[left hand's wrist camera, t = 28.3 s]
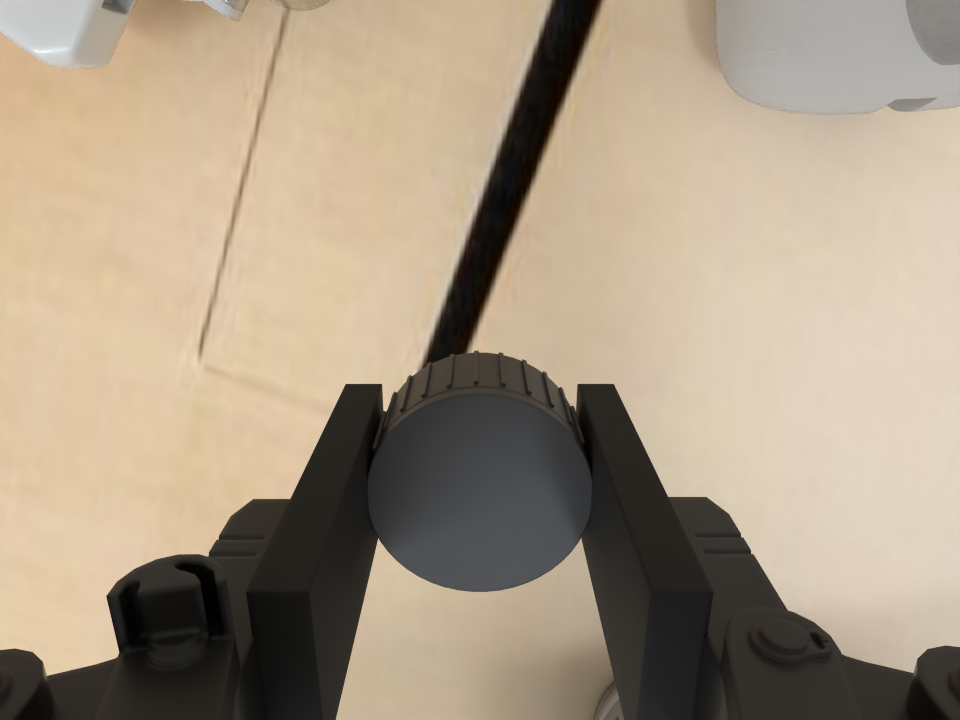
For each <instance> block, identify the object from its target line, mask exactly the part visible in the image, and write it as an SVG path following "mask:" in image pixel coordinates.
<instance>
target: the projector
mask: <svg viewBox="0 0 960 720" xmlns="http://www.w3.org/2000/svg"><path fill="white" fill-rule="evenodd" d="M716 43H717V52H718V59H719V63H720V67H721V71H722V73H723V76H724V78H725V80H726V82H727V83H728V84H729V86H730V87H731V88H732V90H734V91H735V92H736V93H737V94H738V95H739V96H741V97H743V98H744V99H746V100H748V101H749V102H752V103H755V104H757V105H760V106H763V107H767V108H771V109H775V110H780V111H786V112H793V113H803V114H867V113H871V112H875V111H877V110H879V109H881V108H883V107H885V106H887V105H888V106H889V107H890V108H892V109H893V110H896V111H900V112H910V111H924V110H935V109H946V108H953V107H960V0H716Z"/></svg>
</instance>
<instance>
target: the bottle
mask: <svg viewBox="0 0 960 720" xmlns="http://www.w3.org/2000/svg"><path fill="white" fill-rule="evenodd" d="M271 1H273V2H275V3H277V4H279V5H281V6H283V7H286V8H289V9H293V10H309V9H313V8H316V7H319V6H321V5H323V4H324V3H326V2H327V1H329V0H271Z"/></svg>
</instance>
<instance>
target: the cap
mask: <svg viewBox="0 0 960 720" xmlns="http://www.w3.org/2000/svg"><path fill="white" fill-rule="evenodd" d="M585 445H586V443H585V440H584V437H583V433H582V430H581V427H580V424H579V421H578V418H577V414H576V411H575V408H574V406H570V404H569V403H568V401H567V399H566V397H565V394H564V391H563V389H562V387H560V388H558V387H557V385H556V384H554V383H553V382H552V381H551V380H550V379H549V378H548V376H547V373H546V372H544V371H543V373H542V372H540V371H539V370H538V369H536V368H534V367H532V366H531V365H529V364H527V362H526V360H522V361H520V360H517V359H515V358H512V357H508V356H504V355H503V353H499V354H492V353H479V351H474V353H468V354H460V355H456V356H454V354H451V355H450V357H447V358H445V359H442V360H439V361H437V362H434V363H431V362H430V363H428V364H427V367H425V368H423V369H422V370H420V371H419V372H418V373H416V374H415V375H413V376H411V375H410V376H409V377H408V378H407V382H406V383H405V384H404V385H403V386H402V387H401V388H400V390H399V391H398V392H397V393H396V392H394V393H393V395H392V398H391V402H390V405H389V407H388V410H387V412H385V411H383V414H382V417H381V420H380V424H379V427H378V430H377V433H376V436H375V440H374V443H373V446H372V449H371V451H373V452H374V453H373V457H372V460H371V463H370V467H369V471H368V475H367V488H368V503H369V517H370V520H371V523H372V526H373V529H374V531H375V532H376V534H377V536H378V538H379V540H380V541H381V543H382V544H383V545H384V547H385V548H386V550H387V551H388V552H389V553H390V554H391V555H392V556H393V557H394V558H395V559H396V560H397V561H398V562H399V563H400V564H401V565H403V566H404V567H405V568H406V569H408V570H409V571H411V572H412V573H414V574H416V575H417V576H419V577H421V578H423V579H425V580H427V581H429V582H431V583H434V584H437V585H440V586H443V587H447V588H451V589H456V590H462V591H471V592H488V591H498V590H504V589H508V588H513V587H516V586H519V585H522V584H525V583H528V582H530V581H532V580H534V579H537V578H539V577H540V576H542V575H544V574H545V573H547V572H549V571H550V570H552V569H553V568H554V567H555V566H557V565H558V564H559V563H561V562H562V561H563V560H564V559H565V558H566V557H567V556H568V555H569V554H570V553H571V551H572V550H573V549H574V547H575V546H576V545H577V543H578V542H579V540H580V539H581V537H582V535H583V533H584V531H585V530H586V527H587V524H588V522H589V519H590V510H591V495H592V473H591V469H590V465H589V461H588V459H587V455H586V452H585V449H584V446H585Z"/></svg>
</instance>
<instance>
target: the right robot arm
mask: <svg viewBox="0 0 960 720" xmlns="http://www.w3.org/2000/svg"><path fill="white" fill-rule="evenodd" d="M185 1H203V2H205V3H206V4H208V5H209V6H211V7H212V8H214V9H215V10H217V11H218V12H220V13H221V14H223V15H225V16H226V17H228V18H230V19H232V20H235V21H238V22H239V20H240V17H241V15H242V13H243V11H244V9H245V7H246V5H247V3H248V1H249V0H185ZM135 2H136V0H0V33H2V34H3V35H4V36H6V37H7V38H8V39H10V40H11V41H12V42H14V43H15V44H17V45H18V46H19V47H21V48H22V49H24V50H25V51H27V52H28V53H30V54H31V55H33V56H34V57H36V58H37V59H39V60H41V61H42V62H44V63H46V64H48V65H51V66H54V67H58V68H62V69H69V70H88V69H95V68H100V67H104V66H106V65H108V63H109V62H110V60H111V58H112V56H113V54H114V51H115V49H116V47H117V44H118V42H119V40H120V37H121V35H122V33H123V30H124V28H125V26H126V23H127V21H128V19H129V16H130V14H131V12H132V9H133V7H134V5H135Z"/></svg>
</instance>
